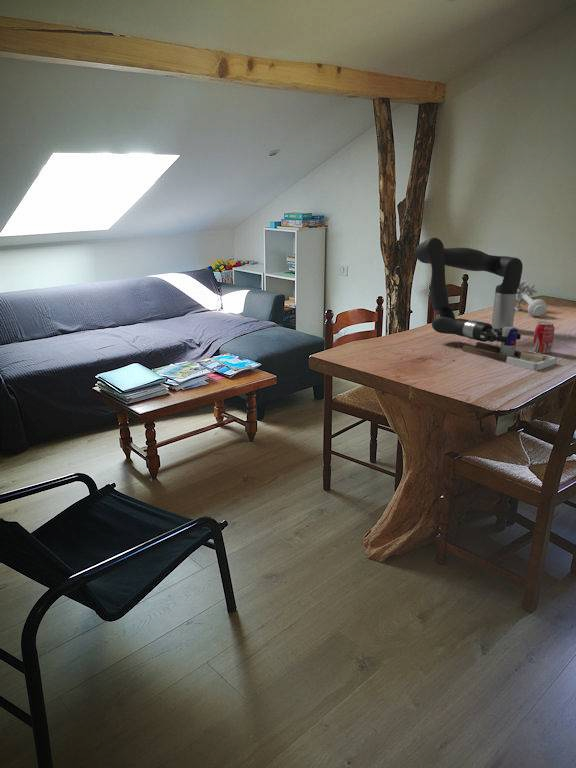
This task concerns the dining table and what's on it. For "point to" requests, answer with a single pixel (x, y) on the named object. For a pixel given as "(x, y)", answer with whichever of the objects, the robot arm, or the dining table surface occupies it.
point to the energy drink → (509, 341)
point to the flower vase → (530, 300)
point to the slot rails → (488, 353)
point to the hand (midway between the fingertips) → (514, 338)
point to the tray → (531, 365)
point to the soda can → (543, 337)
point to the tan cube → (526, 356)
